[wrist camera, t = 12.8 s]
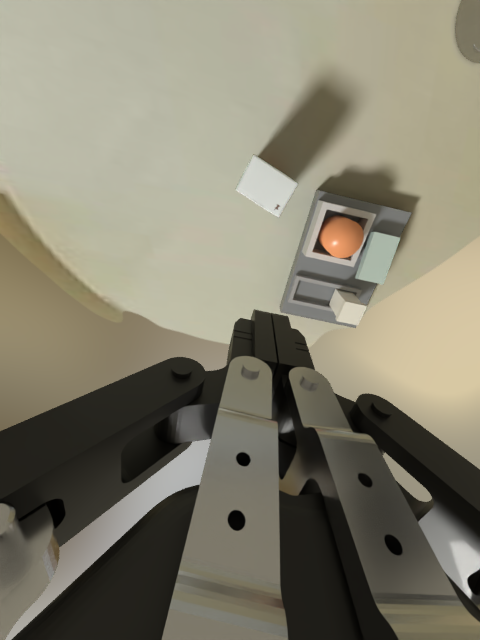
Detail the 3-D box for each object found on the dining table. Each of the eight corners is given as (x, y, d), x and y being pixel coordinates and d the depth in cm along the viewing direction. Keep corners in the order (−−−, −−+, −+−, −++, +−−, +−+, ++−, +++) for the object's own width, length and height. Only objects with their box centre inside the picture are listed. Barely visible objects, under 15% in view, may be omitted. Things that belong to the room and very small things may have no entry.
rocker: (370, 231, 40) (374, 231, 38) (395, 237, 40) (400, 237, 39) (355, 278, 41) (358, 279, 40) (379, 283, 42) (383, 284, 41)
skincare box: (288, 182, 40) (300, 184, 29) (272, 208, 42) (279, 219, 31) (253, 158, 39) (253, 152, 28) (238, 187, 40) (234, 191, 30)
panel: (316, 189, 40) (324, 191, 35) (403, 210, 41) (423, 215, 36) (279, 306, 50) (282, 320, 45) (350, 321, 50) (361, 336, 46)
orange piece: (324, 211, 39) (333, 216, 34) (356, 219, 39) (370, 224, 35) (312, 245, 41) (320, 253, 37) (343, 252, 42) (354, 261, 37)
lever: (334, 287, 44) (345, 301, 39) (354, 291, 45) (367, 306, 40) (327, 305, 46) (336, 321, 41) (346, 309, 46) (357, 325, 41)
